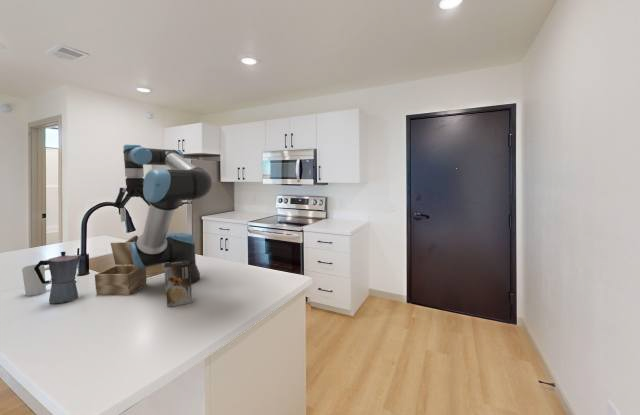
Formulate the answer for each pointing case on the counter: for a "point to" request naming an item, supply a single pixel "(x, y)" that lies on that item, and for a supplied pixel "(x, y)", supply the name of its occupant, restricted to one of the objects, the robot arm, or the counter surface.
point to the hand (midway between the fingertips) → (137, 221)
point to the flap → (123, 252)
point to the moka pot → (61, 277)
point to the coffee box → (178, 283)
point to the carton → (120, 280)
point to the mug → (34, 280)
